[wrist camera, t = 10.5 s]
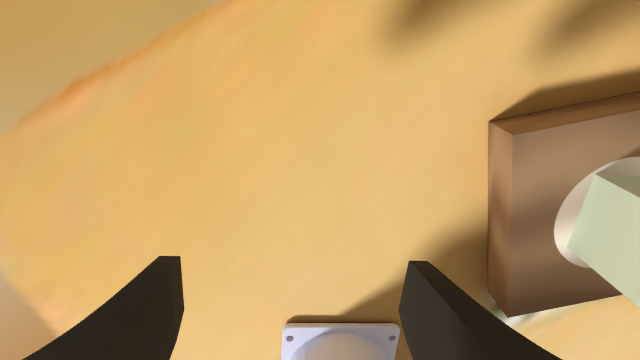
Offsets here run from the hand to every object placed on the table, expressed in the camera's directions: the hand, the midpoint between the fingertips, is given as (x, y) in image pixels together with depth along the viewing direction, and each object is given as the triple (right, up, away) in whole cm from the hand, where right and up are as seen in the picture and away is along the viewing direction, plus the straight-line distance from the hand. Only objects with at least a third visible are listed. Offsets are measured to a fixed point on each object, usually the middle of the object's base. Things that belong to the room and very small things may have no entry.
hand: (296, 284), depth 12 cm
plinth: (+17, +2, +11) cm, 21 cm away
